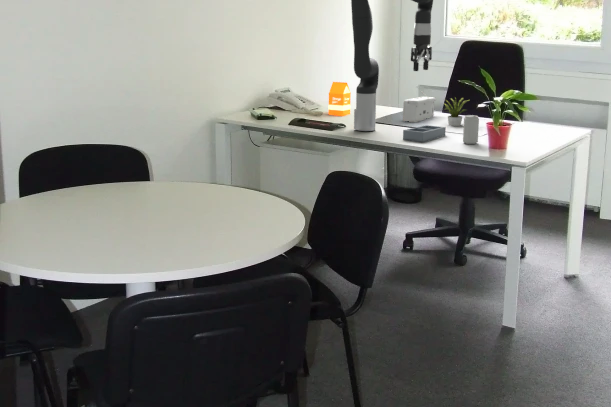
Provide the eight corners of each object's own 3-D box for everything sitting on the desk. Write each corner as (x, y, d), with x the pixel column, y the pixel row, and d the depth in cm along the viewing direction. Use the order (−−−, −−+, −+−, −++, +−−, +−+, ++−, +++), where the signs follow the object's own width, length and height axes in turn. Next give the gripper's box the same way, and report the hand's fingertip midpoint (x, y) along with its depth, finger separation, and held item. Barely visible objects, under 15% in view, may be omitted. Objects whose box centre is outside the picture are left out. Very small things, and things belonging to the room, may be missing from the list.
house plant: (470, 127, 393) (472, 94, 389) (473, 131, 380) (475, 97, 376) (441, 126, 395) (442, 93, 391) (443, 131, 381) (444, 96, 377)
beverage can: (477, 144, 343) (479, 117, 340) (462, 144, 345) (464, 116, 342) (477, 142, 349) (479, 115, 346) (462, 141, 351) (464, 114, 348)
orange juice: (342, 122, 410) (343, 83, 405) (328, 120, 414) (328, 82, 409) (350, 120, 416) (351, 82, 411) (335, 119, 421) (336, 81, 416)
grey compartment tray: (423, 142, 348) (423, 132, 347) (402, 140, 355) (403, 130, 354) (445, 137, 363) (445, 127, 362) (425, 134, 370) (425, 125, 369)
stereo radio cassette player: (421, 121, 414) (422, 82, 409) (435, 122, 409) (437, 83, 404) (401, 126, 397) (403, 85, 392) (416, 127, 392) (417, 86, 388)
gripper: (423, 33, 363) (421, 69, 367) (406, 34, 352) (405, 71, 356) (437, 33, 358) (435, 70, 362) (421, 34, 347) (419, 71, 351)
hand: (420, 70), depth 359 cm, fingers open, 8 cm apart
